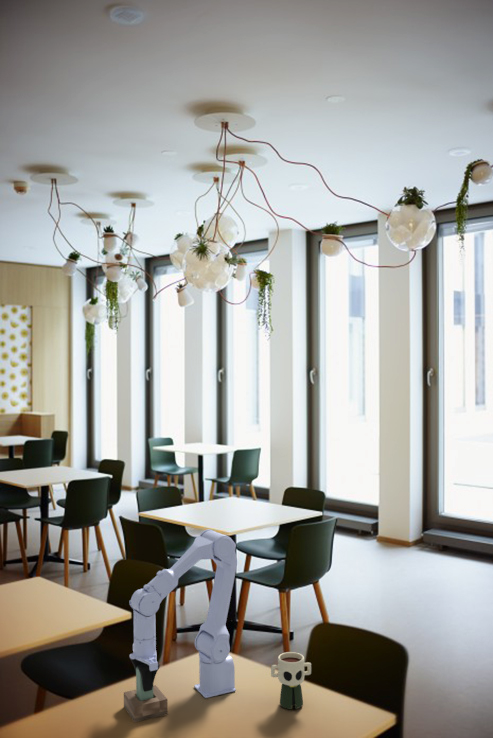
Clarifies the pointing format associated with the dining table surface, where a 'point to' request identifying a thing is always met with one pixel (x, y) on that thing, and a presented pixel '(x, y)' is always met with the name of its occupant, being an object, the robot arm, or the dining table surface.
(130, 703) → the hole block
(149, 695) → the square peg
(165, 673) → the dining table surface
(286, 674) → the character mug
